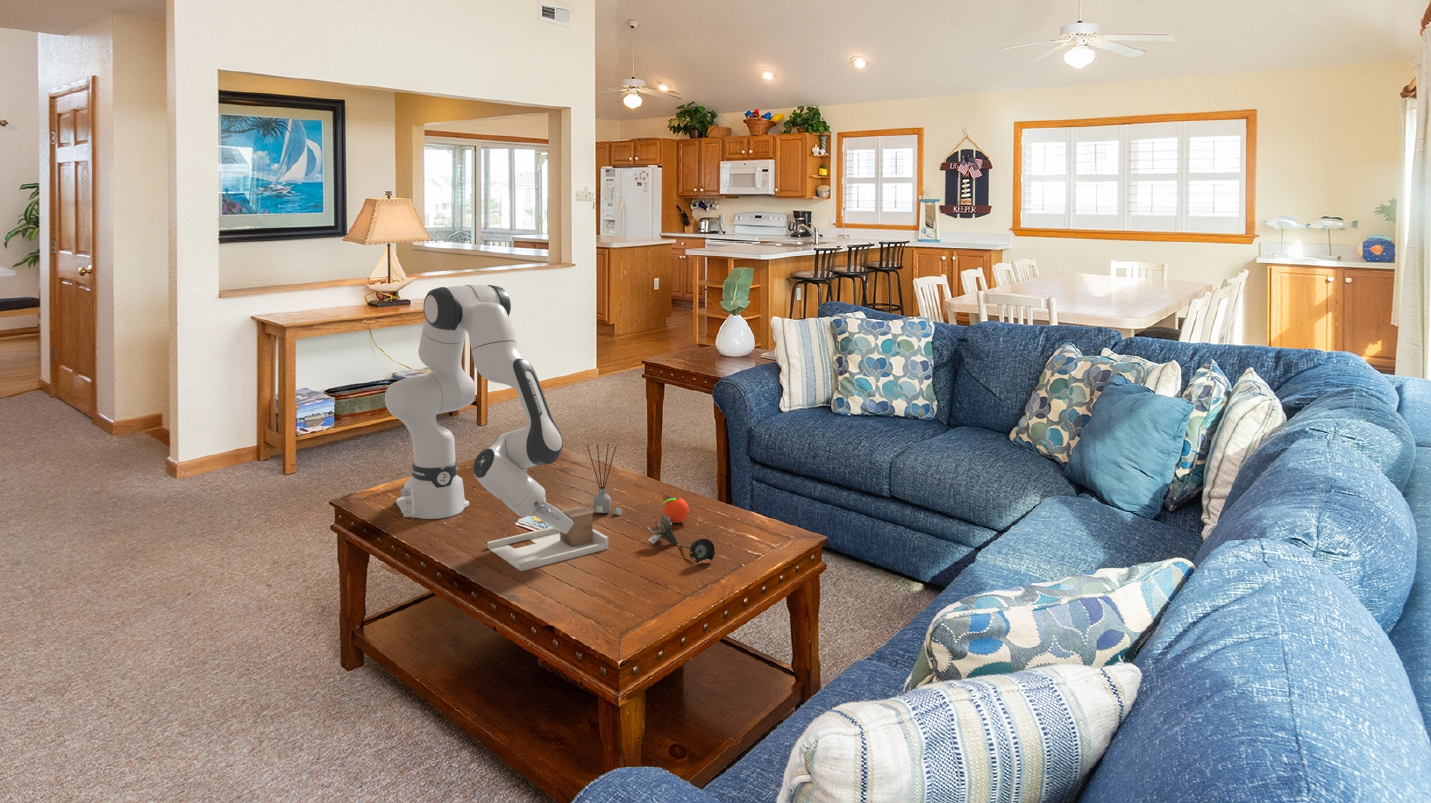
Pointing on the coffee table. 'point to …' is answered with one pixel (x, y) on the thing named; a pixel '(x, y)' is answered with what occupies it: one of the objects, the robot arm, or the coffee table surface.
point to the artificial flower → (699, 547)
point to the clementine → (676, 509)
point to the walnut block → (578, 527)
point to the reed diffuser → (603, 492)
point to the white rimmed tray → (543, 548)
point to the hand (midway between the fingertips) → (563, 527)
